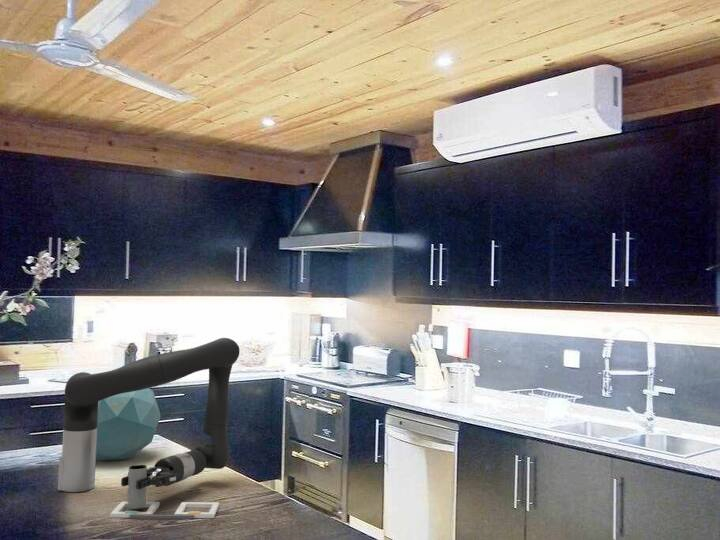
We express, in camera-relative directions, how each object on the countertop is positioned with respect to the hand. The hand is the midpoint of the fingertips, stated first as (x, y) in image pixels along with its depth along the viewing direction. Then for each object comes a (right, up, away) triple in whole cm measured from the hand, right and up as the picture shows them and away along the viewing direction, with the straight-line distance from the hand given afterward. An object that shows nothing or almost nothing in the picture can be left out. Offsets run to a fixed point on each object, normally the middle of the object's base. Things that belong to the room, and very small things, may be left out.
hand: (130, 483), depth 175 cm
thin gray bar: (+9, -8, -3) cm, 12 cm away
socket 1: (+1, -8, +2) cm, 8 cm away
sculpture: (-25, -10, +57) cm, 63 cm away
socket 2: (+17, -8, +3) cm, 19 cm away
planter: (+1, -7, +2) cm, 7 cm away
